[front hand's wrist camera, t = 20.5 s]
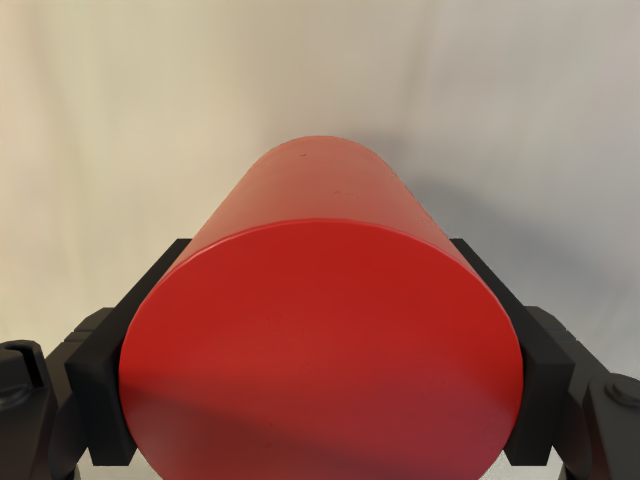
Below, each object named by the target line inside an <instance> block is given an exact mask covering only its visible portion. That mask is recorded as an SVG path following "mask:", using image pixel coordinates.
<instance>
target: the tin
mask: <svg viewBox="0 0 640 480" xmlns="http://www.w3.org/2000/svg"><path fill="white" fill-rule="evenodd" d="M118 380H119V396H120V402H121V407H122V412H123V415H124V418H125V421H126V424H127V427H128V429H129V432H130V434H131V436H132V438H133V440H134V442H135V443H136V445H137V447H138V449H139V451H140V452H141V453H142V455H143V456H144V458H145V459H146V460H147V462H148V463H149V464H150V466H151V467H152V468H153V469H154V470H155V471H156V472H157V473H158V475H159V476H160V477H161V478H162V479H163V480H479V479H480V478H481V477H482V476H483V475H484V473H485V472H486V471H487V470H488V469H489V468H490V466H491V465H492V464H493V463H494V462H495V461H496V459H497V458H498V456H499V455H500V453H501V451H502V450H503V448H504V447H505V445H506V444H507V442H508V440H509V438H510V435H511V433H512V431H513V429H514V427H515V425H516V421H517V418H518V414H519V410H520V406H521V402H522V395H523V387H524V375H523V359H522V355H521V350H520V346H519V341H518V338H517V335H516V333H515V330H514V328H513V325H512V323H511V321H510V318H509V316H508V315H507V313H506V311H505V310H504V308H503V307H502V305H501V303H500V302H499V300H498V299H497V297H496V296H495V294H494V293H493V292H492V291H491V290H490V288H489V287H488V286H487V285H486V283H485V282H484V281H483V280H482V279H481V277H480V276H479V275H478V274H477V273H476V271H475V270H474V269H473V268H472V266H471V265H470V264H469V263H468V262H467V260H466V259H465V258H464V257H463V256H462V254H461V253H460V252H459V251H458V249H457V248H456V247H455V246H454V245H453V243H452V242H451V241H450V240H449V239H448V237H447V236H446V235H445V234H444V232H443V231H442V230H441V229H440V228H439V226H438V225H437V224H436V223H435V222H434V220H433V219H432V218H431V217H430V215H429V214H428V213H427V212H426V211H425V209H424V208H423V207H422V206H421V204H420V203H419V202H418V201H417V200H416V198H415V197H414V196H413V195H412V194H411V192H410V191H409V190H408V189H407V187H406V186H405V185H404V184H403V183H402V181H401V180H400V179H399V178H398V177H397V175H396V174H395V173H394V172H393V171H392V169H391V168H390V167H389V166H388V165H387V164H386V162H385V161H383V160H382V159H381V158H380V157H379V156H378V155H377V154H375V153H374V152H372V151H371V150H369V149H368V148H366V147H364V146H362V145H360V144H358V143H355V142H353V141H350V140H346V139H343V138H338V137H332V136H309V137H303V138H298V139H294V140H291V141H288V142H286V143H283V144H281V145H279V146H277V147H275V148H274V149H272V150H270V151H269V152H267V153H266V154H265V155H263V156H262V157H261V158H260V159H259V160H258V161H257V162H256V163H255V164H254V165H253V166H252V167H251V168H250V169H249V170H248V172H247V173H246V174H245V175H244V177H243V178H242V179H241V180H240V181H239V183H238V184H237V185H236V186H235V188H234V189H233V190H232V191H231V193H230V194H229V195H228V196H227V197H226V199H225V200H224V201H223V202H222V204H221V205H220V206H219V207H218V209H217V210H216V211H215V212H214V213H213V215H212V216H211V217H210V218H209V220H208V221H207V222H206V223H205V225H204V226H203V227H202V228H201V229H200V231H199V232H198V233H197V234H196V236H195V237H194V238H193V239H192V241H191V242H190V243H189V244H188V245H187V247H186V248H185V249H184V250H183V252H182V253H181V254H180V255H179V257H178V258H177V259H176V260H175V261H174V263H173V264H172V265H171V266H170V268H169V269H168V270H167V271H166V273H165V274H164V275H163V276H162V277H161V279H160V280H159V281H158V282H157V284H156V285H155V286H154V287H153V289H152V290H151V291H150V293H149V294H148V295H147V297H146V298H145V299H144V301H143V302H142V303H141V305H140V306H139V308H138V310H137V312H136V314H135V316H134V317H133V319H132V321H131V323H130V325H129V327H128V330H127V333H126V336H125V339H124V342H123V345H122V349H121V356H120V362H119V369H118Z"/></svg>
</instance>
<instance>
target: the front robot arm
mask: <svg viewBox="0 0 640 480" xmlns="http://www.w3.org/2000/svg"><path fill="white" fill-rule="evenodd" d="M449 240H450V241H451V242H452V243H453V245H454V246H455V247H456V248H457V249H458V251H459V252H460V253H461V254H462V256H463V257H464V258H465V259H466V260H467V262H468V263H469V264H470V265H471V266H472V268H473V269H474V270H475V271H476V273H477V274H478V275H479V276H480V277H481V279H482V280H483V281H484V282H485V283H486V285H487V286H488V287H489V288H490V290H491V291H492V292H493V293H494V294H495V296H496V297H497V299H498V300H499V302H500V303H501V305H502V307H503V308H504V310H505V311H506V313H507V315H508V316H509V318H510V321H511V323H512V325H513V328H514V330H515V333H516V335H517V338H518V341H519V346H520V350H521V355H522V359H523V375H524V387H523V395H522V402H521V406H520V410H519V414H518V418H517V421H516V425H515V427H514V429H513V431H512V433H511V435H510V438H509V440H508V442H507V444H506V445H505V447H504V448H503V450H504V452H505V454H506V456H507V458H508V460H509V462H510V464H511V466H546V465H547V461H548V458H549V455H550V451H551V448H552V445H553V447H554V448H555V450H556V452H557V453H558V455H559V456H560V458H561V459H562V461H563V465H562V469H561V472H560V475H559V478H558V480H640V381H639V380H637V379H634V378H631V377H628V376H625V375H622V374H615V373H610V372H609V371H608V370H607V369H606V368H605V367H604V366H603V365H602V364H601V363H600V362H599V361H598V360H597V359H596V358H595V357H594V356H593V355H592V354H591V353H590V352H589V351H588V350H587V349H586V348H585V347H584V346H583V345H582V344H581V343H580V342H579V341H576V338H575V337H574V336H573V335H572V334H571V333H570V332H569V331H566V328H565V327H564V326H563V325H562V324H561V323H560V322H559V321H558V320H557V319H556V318H555V317H554V316H552V315H551V314H549V313H547V312H546V311H544V310H542V309H540V308H539V307H537V306H523V305H522V304H521V303H520V301H519V300H518V299H517V298H516V297H515V296H514V295H513V294H512V293H511V292H510V290H509V289H508V288H507V287H506V286H505V285H504V284H503V283H502V282H501V281H500V279H499V278H498V277H497V276H496V275H495V274H494V273H493V272H492V271H491V270H490V269H489V267H488V266H487V265H486V264H485V263H484V262H483V261H482V260H481V259H480V258H479V256H478V255H477V254H476V253H475V252H474V251H473V250H472V249H471V248H470V247H469V245H468V244H467V243H466V242H465V241H464V240H463V239H449ZM191 241H192V239H177V240H176V241H175V242H174V243H173V244H172V245H171V246H170V247H169V248H168V250H167V251H166V252H165V253H164V254H163V255H162V256H161V257H160V258H159V259H158V261H157V262H156V263H155V264H154V265H153V266H152V267H151V268H150V269H149V270H148V271H147V273H146V274H145V275H144V276H143V277H142V278H141V279H140V280H139V281H138V282H137V284H136V285H135V286H134V287H133V288H132V289H131V290H130V291H129V292H128V293H127V295H126V296H125V297H124V298H123V299H122V300H121V301H120V302H119V303H118V304H117V306H116V307H115V308H102V309H100V310H98V311H97V312H95V313H93V314H92V315H90V316H88V317H86V318H85V319H84V320H83V321H82V322H81V323H80V324H79V325H78V326H77V327H76V328H75V329H74V332H71V333H70V334H69V335H68V336H67V337H66V338H65V339H64V342H61V343H60V344H59V345H58V346H57V347H56V348H55V349H54V350H53V351H52V352H51V353H50V354H49V355H48V356H47V358H46V359H44V356H43V353H42V350H41V346H40V345H39V344H38V343H36V342H35V341H30V340H15V341H7V342H4V343H0V480H81V478H80V472H79V469H78V465H77V463H78V461H79V459H80V458H81V456H82V455H83V453H84V452H85V450H86V449H87V447H88V449H89V452H90V456H91V459H92V463H93V466H129V464H130V462H131V460H132V458H133V456H134V454H135V452H136V450H137V448H138V447H137V445H136V443H135V442H134V440H133V438H132V436H131V434H130V432H129V429H128V427H127V424H126V421H125V418H124V415H123V412H122V407H121V402H120V396H119V380H118V369H119V362H120V356H121V349H122V345H123V342H124V339H125V336H126V333H127V330H128V327H129V325H130V323H131V321H132V319H133V317H134V316H135V314H136V312H137V310H138V308H139V306H140V305H141V303H142V302H143V301H144V299H145V298H146V297H147V295H148V294H149V293H150V291H151V290H152V289H153V287H154V286H155V285H156V284H157V282H158V281H159V280H160V279H161V277H162V276H163V275H164V274H165V273H166V271H167V270H168V269H169V268H170V266H171V265H172V264H173V263H174V261H175V260H176V259H177V258H178V257H179V255H180V254H181V253H182V252H183V250H184V249H185V248H186V247H187V245H188V244H189V243H190V242H191Z"/></svg>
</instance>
